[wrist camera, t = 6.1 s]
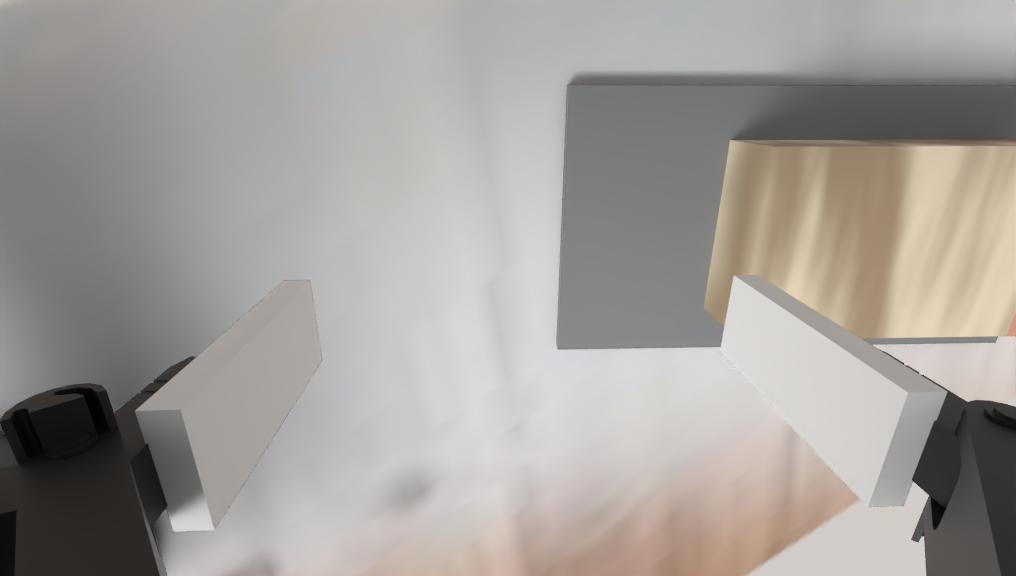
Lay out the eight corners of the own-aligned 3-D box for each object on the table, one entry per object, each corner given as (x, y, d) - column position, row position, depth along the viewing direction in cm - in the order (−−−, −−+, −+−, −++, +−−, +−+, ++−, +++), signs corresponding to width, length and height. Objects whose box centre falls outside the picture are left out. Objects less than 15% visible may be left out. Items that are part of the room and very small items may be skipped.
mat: (556, 344, 28) (557, 349, 28) (567, 85, 23) (568, 84, 22) (985, 338, 29) (995, 342, 28) (1085, 86, 24) (1100, 85, 23)
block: (737, 340, 23) (1017, 336, 24) (774, 146, 20) (1098, 146, 20) (703, 307, 27) (945, 304, 27) (730, 140, 24) (1004, 139, 24)
